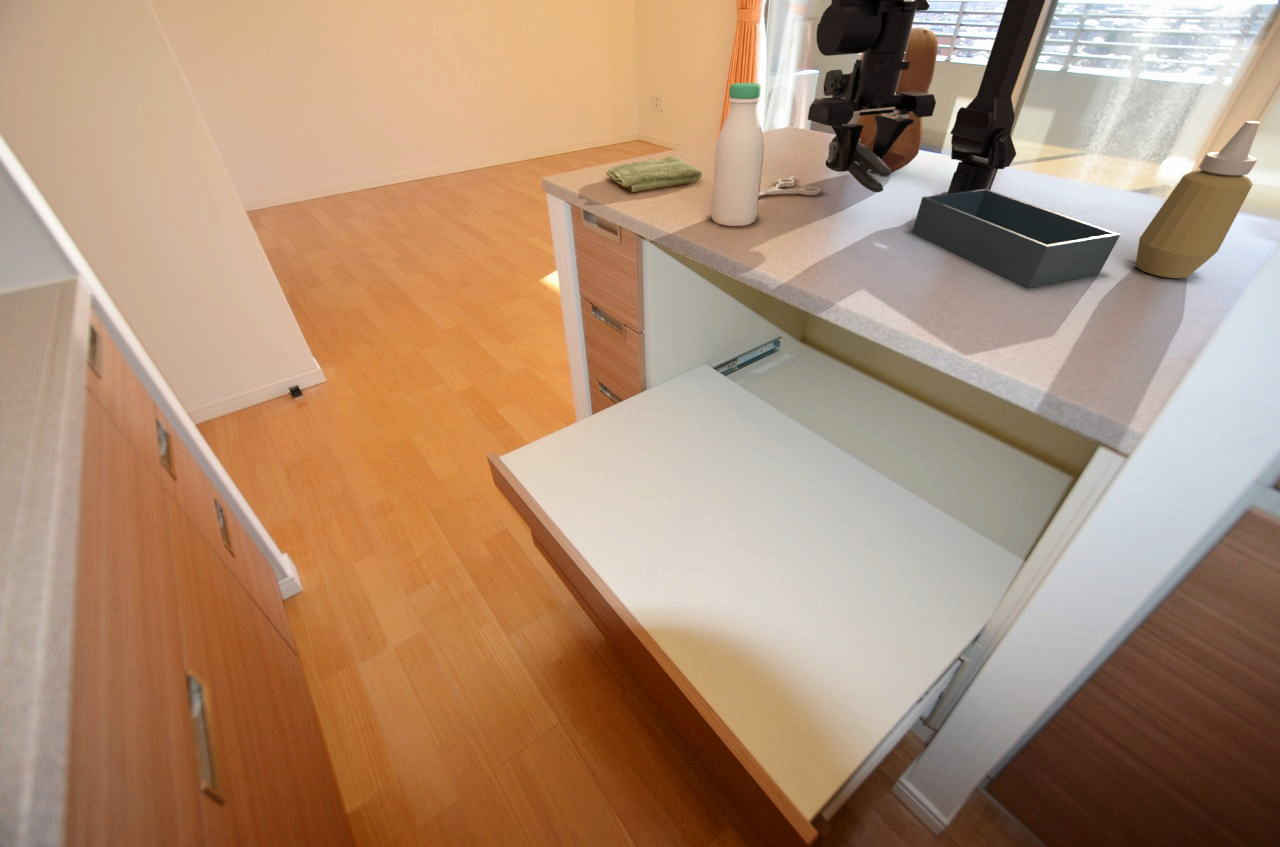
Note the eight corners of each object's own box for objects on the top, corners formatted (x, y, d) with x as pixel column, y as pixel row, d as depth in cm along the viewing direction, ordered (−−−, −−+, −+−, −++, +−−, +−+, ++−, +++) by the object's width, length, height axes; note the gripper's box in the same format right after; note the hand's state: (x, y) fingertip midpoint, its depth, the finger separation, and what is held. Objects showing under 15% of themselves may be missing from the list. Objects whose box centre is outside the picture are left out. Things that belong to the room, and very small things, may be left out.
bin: (972, 223, 89) (985, 188, 86) (1098, 274, 73) (1120, 234, 69) (911, 232, 86) (922, 197, 83) (1028, 288, 70) (1047, 246, 66)
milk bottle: (755, 228, 89) (771, 87, 77) (708, 226, 91) (717, 87, 78) (756, 213, 95) (772, 80, 83) (713, 211, 96) (721, 80, 84)
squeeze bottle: (1110, 261, 76) (1189, 117, 65) (1164, 258, 77) (1251, 114, 65) (1158, 285, 70) (1254, 130, 59) (1216, 281, 70) (1323, 127, 59)
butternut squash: (892, 162, 121) (927, 24, 105) (924, 178, 111) (969, 27, 95) (833, 165, 120) (860, 26, 104) (860, 182, 109) (895, 30, 94)
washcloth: (603, 178, 115) (602, 162, 113) (678, 169, 120) (678, 153, 118) (625, 195, 105) (624, 177, 103) (705, 184, 110) (706, 167, 108)
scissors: (829, 188, 103) (745, 204, 96) (828, 192, 104) (744, 208, 97) (792, 176, 111) (711, 190, 104) (791, 180, 111) (711, 194, 104)
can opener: (815, 166, 94) (822, 130, 91) (853, 165, 95) (861, 129, 91) (856, 195, 80) (866, 154, 77) (901, 194, 81) (912, 153, 77)
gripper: (901, 45, 85) (876, 152, 95) (797, 51, 81) (782, 163, 91) (953, 50, 77) (920, 167, 86) (840, 57, 72) (818, 180, 82)
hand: (858, 169), depth 87 cm, fingers closed on can opener, 5 cm apart
